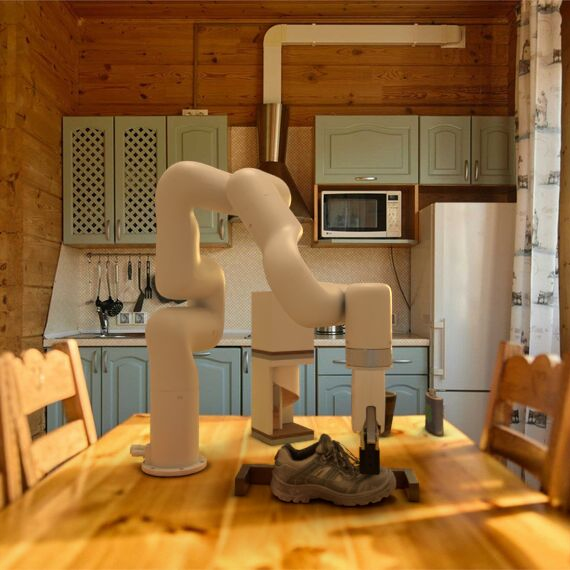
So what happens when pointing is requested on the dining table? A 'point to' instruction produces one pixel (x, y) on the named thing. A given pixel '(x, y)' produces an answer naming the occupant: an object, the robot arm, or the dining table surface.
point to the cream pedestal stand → (276, 370)
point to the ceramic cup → (388, 412)
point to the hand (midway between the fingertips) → (369, 472)
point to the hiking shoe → (326, 475)
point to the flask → (433, 413)
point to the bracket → (264, 472)
